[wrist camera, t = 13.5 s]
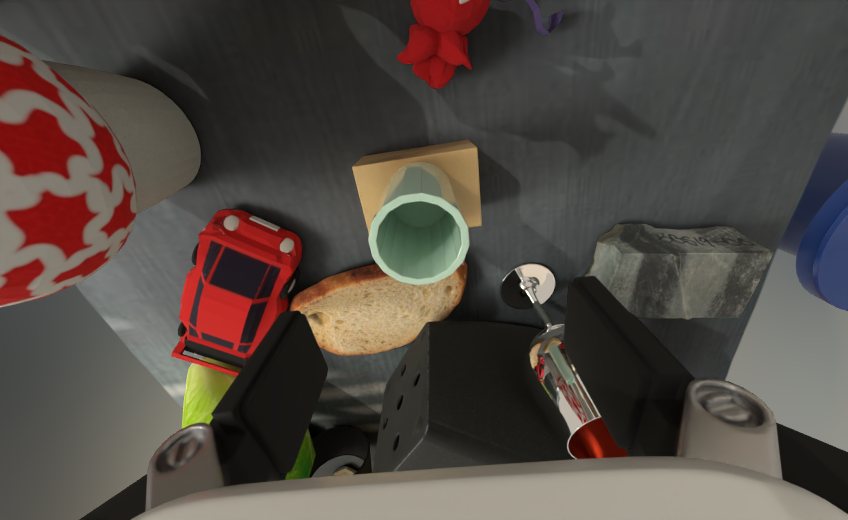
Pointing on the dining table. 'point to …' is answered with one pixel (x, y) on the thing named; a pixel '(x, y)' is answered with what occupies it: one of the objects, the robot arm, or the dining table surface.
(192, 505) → the robot arm
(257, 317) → the toy car
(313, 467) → the pendant light
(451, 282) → the slice of bread
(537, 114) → the dining table surface
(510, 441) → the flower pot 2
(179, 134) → the decorative object
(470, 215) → the maple block
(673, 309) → the stone block
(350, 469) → the ceramic shard
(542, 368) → the wineglass
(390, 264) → the cup
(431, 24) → the figurine
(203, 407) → the lettuce
